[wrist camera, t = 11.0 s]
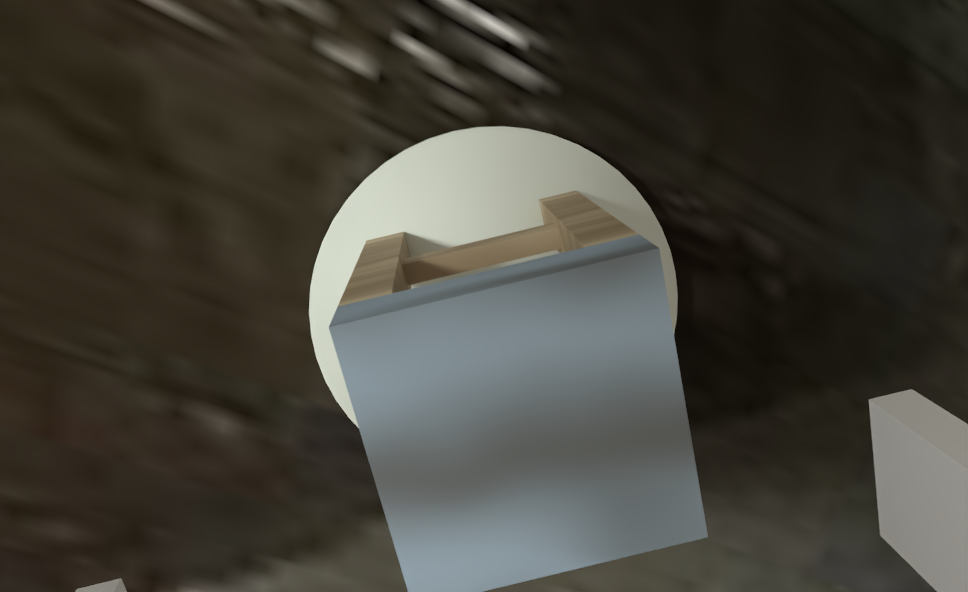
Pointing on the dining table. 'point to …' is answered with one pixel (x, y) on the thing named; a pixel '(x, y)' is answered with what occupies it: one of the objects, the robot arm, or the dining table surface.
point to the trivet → (465, 211)
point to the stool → (520, 401)
